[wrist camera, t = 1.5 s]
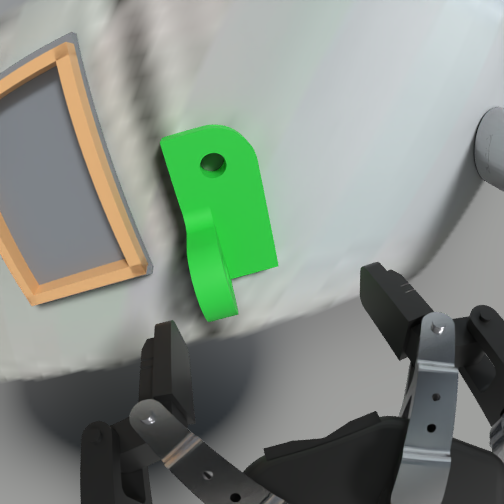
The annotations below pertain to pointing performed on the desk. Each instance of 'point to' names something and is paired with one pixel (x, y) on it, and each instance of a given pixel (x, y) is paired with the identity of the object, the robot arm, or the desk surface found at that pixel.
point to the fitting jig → (60, 182)
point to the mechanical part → (220, 213)
